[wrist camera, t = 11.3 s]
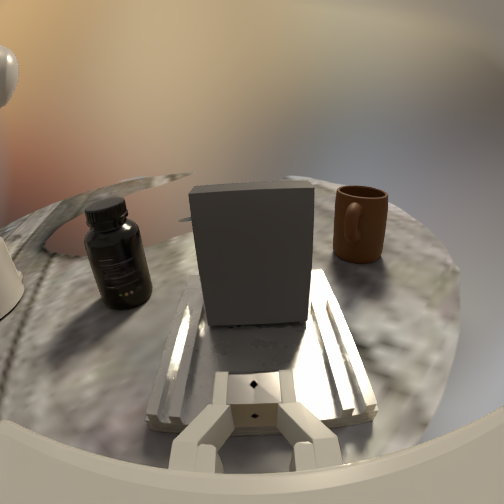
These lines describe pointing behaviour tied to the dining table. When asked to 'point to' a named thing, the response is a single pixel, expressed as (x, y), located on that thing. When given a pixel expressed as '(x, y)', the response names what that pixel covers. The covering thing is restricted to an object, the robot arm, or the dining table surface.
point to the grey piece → (261, 362)
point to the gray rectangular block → (254, 250)
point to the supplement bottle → (116, 255)
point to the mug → (359, 223)
